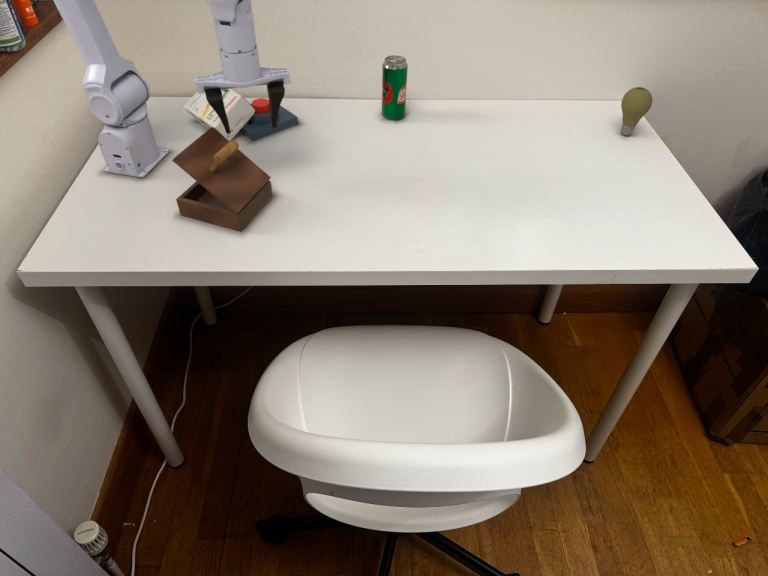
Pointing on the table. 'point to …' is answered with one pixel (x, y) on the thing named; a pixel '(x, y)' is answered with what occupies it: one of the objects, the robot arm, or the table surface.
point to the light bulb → (634, 108)
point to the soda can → (394, 87)
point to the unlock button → (261, 105)
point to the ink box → (234, 107)
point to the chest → (220, 207)
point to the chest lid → (222, 169)
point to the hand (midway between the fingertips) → (251, 127)
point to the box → (267, 124)
